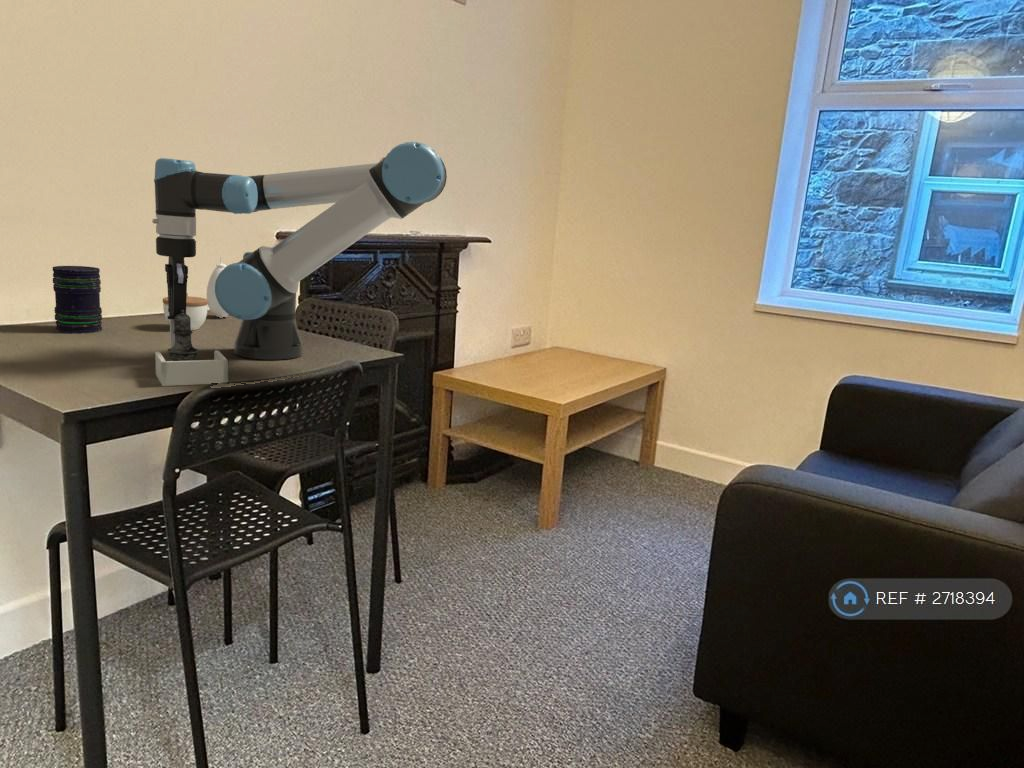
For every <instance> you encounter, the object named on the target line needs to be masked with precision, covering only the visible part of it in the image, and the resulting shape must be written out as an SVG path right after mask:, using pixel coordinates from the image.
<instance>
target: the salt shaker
mask: <svg viewBox="0 0 1024 768" xmlns="http://www.w3.org/2000/svg"><path fill="white" fill-rule="evenodd" d="M181 312H182V313H181V314H179V315H177V316H176V317H175V331H173V333H175V344H174V347H173V348H168V349H167V352H168V353H169V355H168V356H169V357H170V359H171V361H196V358H197V357H198V352H199V349H198V348H196V347H194V346H193V344H192V334H193V330H191V321H190V317H189V316H188V315H186V314H184V310H182V311H181Z"/></svg>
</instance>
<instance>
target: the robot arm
mask: <svg viewBox="0 0 1024 768" xmlns="http://www.w3.org/2000/svg"><path fill="white" fill-rule="evenodd" d="M154 167H155V168H154V179H153V183H154V199H155V200H154V202H155V218H153V219H152V223H153V224H155V234H157V235H159V236H156V238H155V250H156V251H155V252H156V254H157V255H158V256H160V257H161V256H162V257H168V263H165V264H164V270H165V271H164V272H166V285H167V297H168V312H169V315H170V316H168V319H170V324H169V347H170V348H173V347H174V344H175V333H173V331H175V317H176V316H177V315H179V314H181V313H182V312H181V311H182V310H184V314H186V297H187V293H188V292H187V290H188V289H187V288H188V279H189V275H188V274H189V266H188V265H186V264H185V258H194V257H196V255H197V240H195V239H194V237H196V236H197V217H196V216H197V215H196V210H201V211H202V210H204V211H212V212H214V211H215V212H222V213H232V214H235V215H238V214H240V215H241V214H245V215H247V214H252V213H257V212H260V211H269V210H276V209H286V208H288V209H290V208H295V207H296V208H297V207H298V208H299V207H307V206H308V207H309V206H318V205H319V206H320V205H328V204H332V205H331V206H329V207H328V208H327V209H325V210H324V211H322V212H321V213H320V214H318V215H317V216H316V217H313V218H312V219H311V220H310V221H308V222H306V223H304V225H303V226H301V227H300V228H299V229H297V230H296V231H294V232H293V233H291V234H290V235H289V236H287V237H286V238H284V239H283V240H282V241H280V242H278V243H277V244H275V245H274V246H273V247H271V246H270V247H269V246H265V245H261V246H259V247H258V248H257V249H256V250H254V251H246V252H245V253H243V255H242V259H241V260H239V261H238V262H234V263H233V262H232V264H231V263H230V264H228V265H226V267H225V268H224V269H223V270H222V271H221V272H220V274H219V275H218V277H217V279H216V282H215V295H216V298H217V301H218V303H219V304H220V306H221V307H222V309H223V310H224V311H225V312H226V313H228V316H229V315H230V317H233V318H236V319H237V320H241V323H240V325H239V329H238V331H237V335H236V338H235V341H234V351H233V352H234V354H235V355H236V356H240V357H243V358H248V359H253V360H254V359H255V360H268V361H271V360H272V361H275V360H276V361H277V360H288V359H295V358H298V357H301V356H302V355H303V342H302V339H301V335H300V333H299V329H298V326H297V322H296V313H297V312H296V310H297V309H296V308H297V307H296V306H297V293H298V290H299V284H300V282H301V280H303V279H305V278H306V277H308V276H309V275H311V274H312V273H313V272H315V271H316V270H318V269H320V267H322V266H323V265H324V264H326V263H328V262H329V261H330V260H333V258H335V257H336V256H338V255H339V254H341V253H342V252H344V251H345V250H346V249H348V248H349V247H350V246H352V245H354V244H355V243H356V242H357V241H360V240H361V239H362V238H363V237H364V236H366V235H368V234H369V233H371V232H372V231H373V230H375V229H377V228H378V227H380V226H381V225H382V224H383V223H385V222H386V221H388V220H389V219H392V218H394V219H400V220H403V219H404V218H406V217H407V216H409V214H411V213H413V212H414V211H416V210H417V209H419V207H421V206H423V205H424V204H425V203H430V202H432V201H434V200H435V199H437V198H438V197H439V196H440V195H441V193H442V192H443V191H444V188H445V187H446V184H447V177H448V175H447V168H446V166H445V163H444V162H443V159H442V158H441V156H440V155H438V153H437V152H436V150H434V149H433V148H432V147H430V146H428V145H427V144H426V143H422V142H418V141H408V142H404V143H399V144H397V145H396V146H395V147H393V148H392V149H390V151H389V152H388V153H387V154H386V156H385V157H381V158H380V160H379V162H376V163H375V162H374V163H373V162H372V163H364V164H356V165H346V166H345V165H344V166H337V167H326V168H318V169H309V170H308V169H307V170H299V171H289V172H279V173H270V174H269V173H268V174H257V175H250V176H244V175H240V174H225V173H224V174H223V173H212V172H202V171H198V170H197V169H196V164H195V163H194V161H191V160H184V159H175V158H165V157H160V158H158V159H157V160H156V161H155V164H154ZM186 315H187V314H186ZM170 348H169V349H170Z"/></svg>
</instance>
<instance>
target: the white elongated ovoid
mask: <svg viewBox="0 0 1024 768" xmlns="http://www.w3.org/2000/svg"><path fill="white" fill-rule="evenodd" d="M219 262H220V263H217V264H216V267H215V268H214V270H213V271H212V273H211V275H210V277H209V278H208V279H209V280H208V283H207V286H206V299H207V300H208V304H207V305H208V309H209V311H210V313H212V314H214V316H215V317H217V318H218V317H219V319H224V318H223V317H225V318H227V317H228V316H229V314H228V313H226V312H225V311H224V310H223V309H222V307H221V306H220V304H219V303H218V301H217V298H216V295H215V282H216V279H217V277H218V275H219V274H220V272H221V271H222V270H223V269H224V268H225V267H227V264H225V263H223V255H220V261H219Z"/></svg>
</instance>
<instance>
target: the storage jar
mask: <svg viewBox="0 0 1024 768" xmlns="http://www.w3.org/2000/svg"><path fill="white" fill-rule="evenodd" d="M52 272H53V274H52V277H53V278H52V284H53V287H52V289H53V291H54V295H55V298H54V299H55V307H54V310H53V311H54V321H55V324H56V327H55V330H56V332H58V333H62V332H63V334H73V333H74V334H75V333H76V334H77V335H78V334H79V335H80V334H82V333H85V334H95V333H94V332H96V333H100V332H102V331H103V327H102V324H103V322H102V320H103V310H102V307H101V300H100V299H101V298H100V296H101V295H100V293H101V290H102V288H101V287H102V286H101V284H102V282H101V281H102V279H101V275H100V272H101V271H100V268H99V267H94V266H86V265H85V266H83V265H56V266H52ZM99 331H100V332H99Z"/></svg>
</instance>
